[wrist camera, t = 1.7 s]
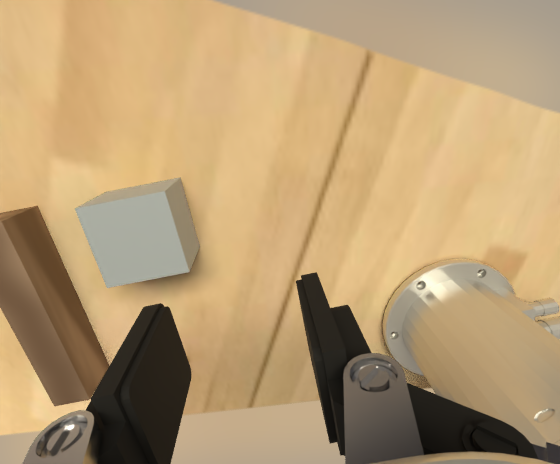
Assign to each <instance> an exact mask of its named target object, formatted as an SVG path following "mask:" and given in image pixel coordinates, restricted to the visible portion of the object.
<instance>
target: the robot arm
mask: <svg viewBox="0 0 560 464" xmlns="http://www.w3.org/2000/svg"><path fill="white" fill-rule="evenodd" d="M301 278H302V280H297V281H296V284H297V289H298V294H299V300H300V305H301V310H302V315H303V320H304V326H305V331H306V336H307V341H308V346H309V351H310V356H311V361H312V365H313V370H314V374H315V379H316V383H317V388H318V392H319V397H320V401H321V406H322V410H323V415H324V419H325V424H326V428H327V433H328V437H329V442H330V443H334V442H337V443H338V447H339V451H340V455H344V456H345V464H560V316H558V317H553V318H548V319H543V320H538V321H537V322H535V317H537V316H546V315H551V314H556V313H558V312H559V306H558V304H557V302H556V301H555V300H554V299H552V298H547V299H542V300H537V301H534V302H531V303H527V302H526V301H522V300H521V299H520V298H518V297H517V296H516V295H515V292H514V289H513V287H512V285H511V284H510V283H509V281H508V280H507V278H506V277H504V276H503V275H502V274H501V273H500V272H499V271H497V270H496V269H494V268H492V267H491V266H489V265H487V264H485V263H482V262H480V261H477V260H471V259H449V260H444V261H439V262H437V263H434V264H431V265H429V266H426V267H424V268H423V269H421V270H419V271H417V272H416V273H414V274H413V275H412V276H410V277H409V278H408V279H407V280H405V281H404V282H403V283H402V284H401V285H400V287H399V288H398V289H397V290H396V291H395V293H394V294H393V296H392V297H391V299H390V301H389V302H388V305H387V307H386V310H385V312H384V318H383V336H384V339H385V343H386V345H387V347H388V349H389V351H390V353H391V354H392V356H393V357H394V358H395V360H396V361H397V362H398V363H399V364H400V365H401V366H403V367H404V368H405V369H407V370H409V371H411V372H413V373H416V374H419V375H422V376H425V378H426V379H427V381H428V382H429V384H430V385H431V387H432V389H433V390H434V392H435V393H436V394H433V393H431V392H428V391H426V390H423V389H421V388H418V387H416V386H413V385H411V384H408V383H407V382H406V378H405V374H404V371H403V369H402V367H401V366H400V365H399V364H398V363H397V362H396V361H395V360H394V359H392V358H390V357H389V356H386V355H382V354H377V353H371V351H370V349H369V347H368V345H367V343H366V341H365V339H364V337H363V334H362V332H361V330H360V328H359V326H358V324H357V322H356V320H355V318H354V316H353V313H352V311H351V309H350V307H349V306H348V305H344V306H339V307H334V308H330V307H329V304H328V301H327V299H326V296H325V293H324V291H323V288H322V285H321V283H320V280H319V277H318V275H317V273H311V274H306V275H301ZM190 381H191V368H190V365H189V362H188V359H187V356H186V354H185V351H184V348H183V345H182V342H181V339H180V336H179V333H178V331H177V328H176V325H175V322H174V319H173V316H172V313H171V310H170V308H169V307H168V306H167V307H164V305H163V304H161V303H160V304H155V305H150V306H145V307H144V308H143V309H142V311H141V313H140V314H139V316H138V318H137V319H136V321H135V323H134V325H133V326H132V328H131V330H130V332H129V333H128V335H127V337H126V338H125V340H124V342H123V344H122V345H121V347H120V349H119V351H118V352H117V354H116V356H115V358H114V359H113V361H112V363H111V364H110V366H109V368H108V370H107V371H106V373H105V375H104V377H103V378H102V380H101V382H100V384H99V385H98V387H97V389H96V390H95V392H94V394H93V396H92V397H91V402H90V404H89V405H88V407H87V409H86V411H83V410H79V411H75V412H71V413H69V414H67V415H64V416H62V417H60V418H59V419H57V420H55V421H54V422H52V423H51V424H50V425H49V426H47V427H46V428H45V429H44V430H43V431H42V432H41V433H40V434H39V435H38V436H37V437H36V439H35V440H34V442H33V443H32V445H31V446H30V448H29V451H28V453H27V455H26V457H25V459H24V462H23V464H170V463H171V459H172V455H173V451H174V447H175V443H176V438H177V434H178V430H179V426H180V422H181V418H182V414H183V410H184V406H185V402H186V398H187V394H188V390H189V385H190Z"/></svg>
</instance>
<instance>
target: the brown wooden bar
mask: <svg viewBox="0 0 560 464" xmlns="http://www.w3.org/2000/svg"><path fill="white" fill-rule="evenodd" d="M0 308H1V309H2V311H3V313H4V315H5V317H6V319H7V320H8V322H9V324H10V326H11V328H12V330H13V331H14V333H15V335H16V337H17V339H18V341H19V342H20V344H21V346H22V348H23V350H24V351H25V353H26V355H27V357H28V359H29V361H30V362H31V364H32V366H33V368H34V370H35V372H36V373H37V375H38V377H39V379H40V381H41V383H42V384H43V386H44V388H45V390H46V392H47V393H48V395H49V397H50V399H51V401H52V403H53V404H54V406H59V405H64V404H69V403H74V402H79V401H84V400H89V399H90V398H91V396H92V394H93V393H94V391H95V389H96V387H97V386H98V384H99V382H100V381H101V379H102V377H103V375H104V374H105V372H106V370H107V368H108V367H109V365H108V362H107V360H106V358H105V356H104V353H103V351H102V349H101V347H100V345H99V342H98V340H97V338H96V336H95V333H94V331H93V329H92V327H91V325H90V322H89V320H88V318H87V316H86V313H85V311H84V309H83V307H82V305H81V302H80V300H79V298H78V296H77V293H76V291H75V289H74V287H73V285H72V282H71V280H70V278H69V276H68V273H67V271H66V269H65V267H64V265H63V262H62V260H61V258H60V256H59V253H58V251H57V249H56V247H55V245H54V242H53V240H52V238H51V236H50V233H49V231H48V229H47V227H46V225H45V222H44V220H43V218H42V216H41V213H40V211H39V209H38V207H37V206H34V207H29V208H24V209H19V210H14V211H9V212H4V213H0Z"/></svg>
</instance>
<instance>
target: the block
mask: <svg viewBox="0 0 560 464" xmlns="http://www.w3.org/2000/svg"><path fill="white" fill-rule="evenodd" d="M75 210H76V213H77V215H78V218H79V220H80V223H81V225H82V228H83V230H84V233H85V235H86V237H87V240H88V242H89V245H90V247H91V250H92V252H93V255H94V257H95V260H96V262H97V265H98V267H99V269H100V272H101V274H102V277H103V279H104V282H105V284H106V287H107V288H110V287H115V286H120V285H125V284H130V283H136V282H141V281H146V280H151V279H156V278H161V277H166V276H172V275H177V274H182V273H187V272H190V269H191V267H192V265H193V262H194V260H195V257H196V255H197V253H198V250H199V248H200V245H199V241H198V238H197V234H196V231H195V227H194V224H193V220H192V217H191V213H190V210H189V206H188V203H187V199H186V196H185V192H184V188H183V185H182V181H181V178H175V179H170V180H165V181H160V182H155V183H150V184H145V185H139V186H134V187H129V188H124V189H119V190H114V191H108V192H105V193H103V194H101V195H99V196H97V197H96V198H94V199H92V200H90V201H88V202H86V203H84V204H83V205H81V206H79V207H77V208H75Z"/></svg>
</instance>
